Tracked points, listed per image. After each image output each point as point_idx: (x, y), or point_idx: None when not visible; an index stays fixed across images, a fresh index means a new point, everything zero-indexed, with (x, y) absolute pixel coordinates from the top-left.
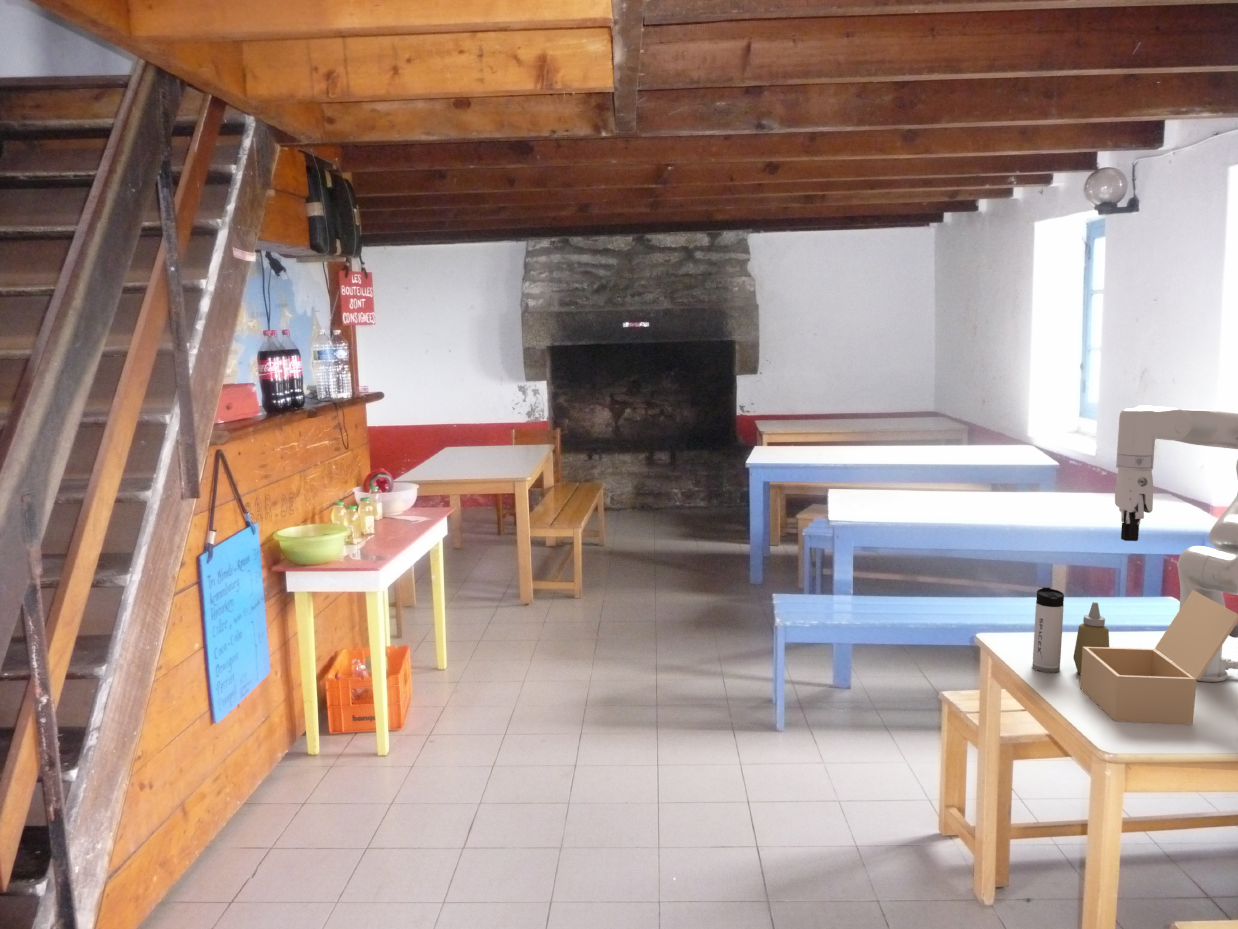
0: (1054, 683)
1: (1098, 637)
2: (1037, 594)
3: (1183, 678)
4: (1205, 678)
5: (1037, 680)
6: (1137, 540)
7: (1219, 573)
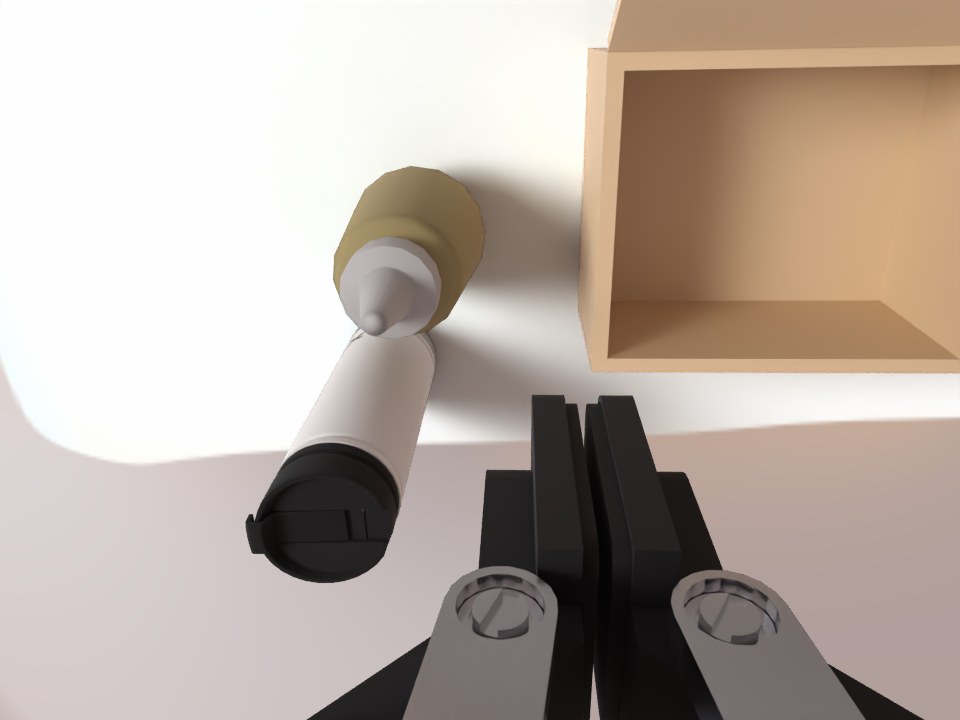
0: (540, 374)
1: (466, 268)
2: (333, 577)
3: None
4: None
5: (516, 416)
6: (629, 397)
7: None
